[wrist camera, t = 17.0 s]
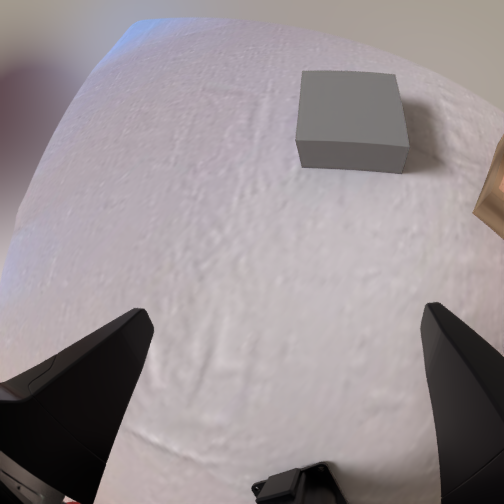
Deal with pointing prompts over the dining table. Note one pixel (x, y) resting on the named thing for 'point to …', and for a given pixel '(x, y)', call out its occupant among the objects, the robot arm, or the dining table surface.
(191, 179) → the dining table surface
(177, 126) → the dining table surface
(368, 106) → the charcoal plinth
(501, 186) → the terracotta block
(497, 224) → the walnut block
